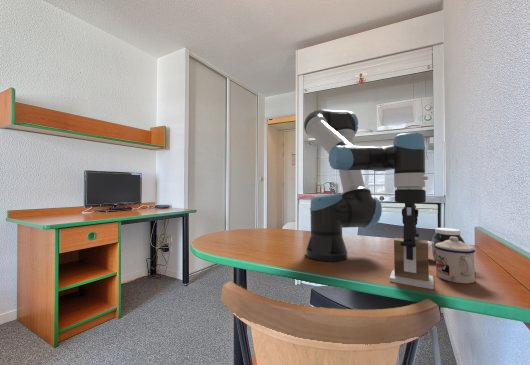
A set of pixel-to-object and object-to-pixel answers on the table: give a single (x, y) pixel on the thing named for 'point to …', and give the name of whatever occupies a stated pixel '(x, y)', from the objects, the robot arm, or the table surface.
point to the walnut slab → (421, 260)
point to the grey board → (412, 281)
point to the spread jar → (443, 237)
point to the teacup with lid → (455, 261)
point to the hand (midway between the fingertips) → (411, 264)
